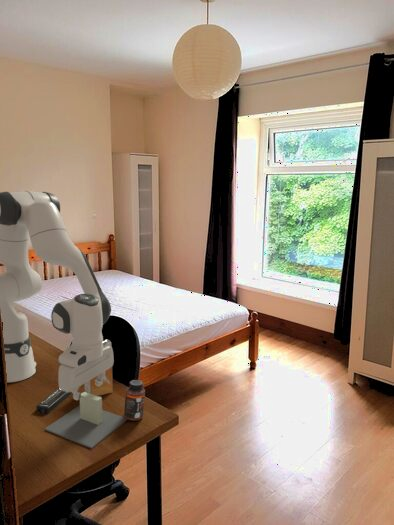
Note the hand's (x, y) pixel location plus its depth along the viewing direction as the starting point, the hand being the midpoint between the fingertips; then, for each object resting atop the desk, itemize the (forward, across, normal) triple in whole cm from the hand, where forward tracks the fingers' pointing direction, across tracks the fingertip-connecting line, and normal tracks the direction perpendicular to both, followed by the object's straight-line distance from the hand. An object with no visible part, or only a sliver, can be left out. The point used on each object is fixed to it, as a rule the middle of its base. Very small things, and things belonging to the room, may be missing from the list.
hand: (88, 391), depth 125 cm
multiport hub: (+11, -3, -17) cm, 21 cm away
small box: (+10, -15, -9) cm, 20 cm away
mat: (+10, +2, +1) cm, 10 cm away
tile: (+9, 0, +1) cm, 9 cm away
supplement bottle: (+10, -8, +11) cm, 17 cm away
